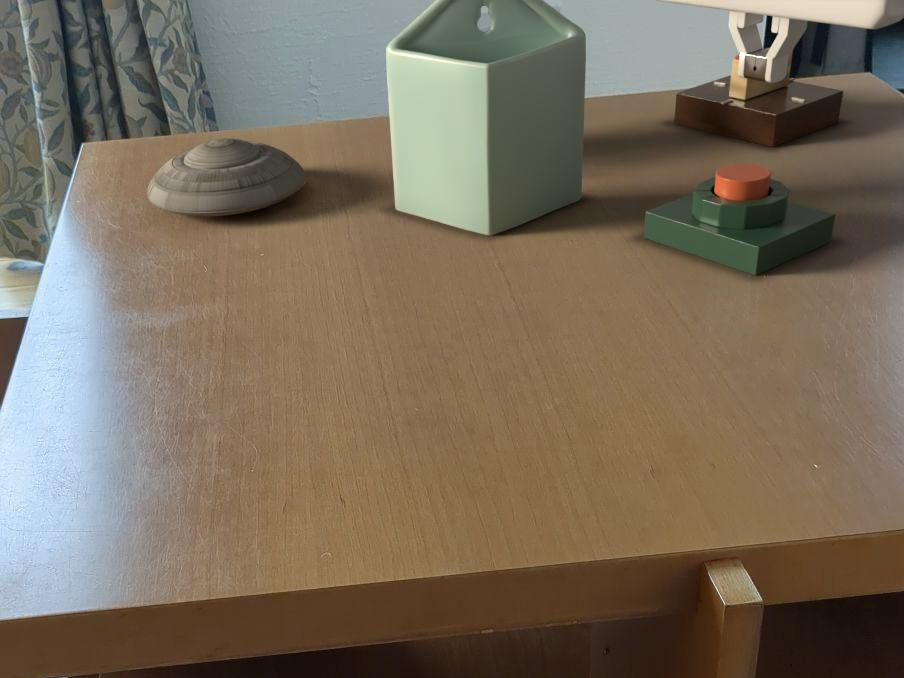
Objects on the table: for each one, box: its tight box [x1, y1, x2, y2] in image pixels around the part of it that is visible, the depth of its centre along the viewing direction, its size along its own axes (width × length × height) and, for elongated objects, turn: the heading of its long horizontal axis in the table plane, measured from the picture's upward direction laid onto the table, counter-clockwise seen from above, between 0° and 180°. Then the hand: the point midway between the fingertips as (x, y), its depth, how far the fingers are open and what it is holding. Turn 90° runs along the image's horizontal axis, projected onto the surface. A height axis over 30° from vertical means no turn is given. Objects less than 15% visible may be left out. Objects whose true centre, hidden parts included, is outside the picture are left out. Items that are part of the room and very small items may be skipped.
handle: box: [729, 46, 794, 100], centre depth 111 cm, size 6×2×4 cm, turn 126°
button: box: [714, 163, 772, 201], centre depth 88 cm, size 4×4×2 cm
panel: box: [673, 74, 844, 148], centre depth 113 cm, size 12×11×3 cm
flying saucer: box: [145, 137, 308, 217], centre depth 106 cm, size 15×15×6 cm
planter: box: [385, 0, 587, 237], centre depth 93 cm, size 16×8×20 cm, turn 87°
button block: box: [643, 176, 836, 276], centre depth 90 cm, size 11×9×4 cm
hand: (761, 79), depth 84 cm, fingers closed
